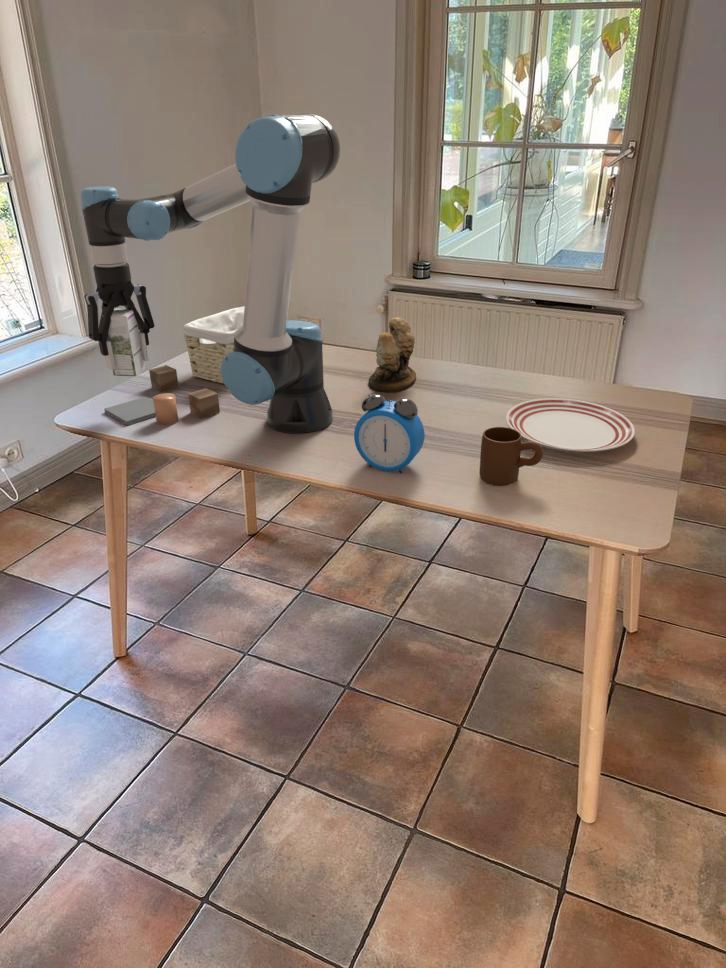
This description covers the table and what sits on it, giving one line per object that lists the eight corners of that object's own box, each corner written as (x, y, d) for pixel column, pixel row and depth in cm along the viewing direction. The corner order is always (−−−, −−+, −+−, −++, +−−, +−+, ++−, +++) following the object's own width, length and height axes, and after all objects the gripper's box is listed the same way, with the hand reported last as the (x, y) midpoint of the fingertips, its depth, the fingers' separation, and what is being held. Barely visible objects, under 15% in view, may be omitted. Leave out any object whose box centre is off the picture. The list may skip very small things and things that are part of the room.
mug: (545, 479, 142) (550, 435, 137) (533, 496, 136) (538, 450, 132) (487, 466, 147) (490, 423, 143) (473, 481, 141) (475, 437, 137)
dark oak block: (178, 387, 189) (176, 369, 187) (161, 392, 186) (159, 374, 184) (168, 383, 192) (166, 365, 190) (151, 388, 189) (149, 369, 187)
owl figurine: (381, 367, 201) (381, 306, 192) (422, 372, 197) (425, 309, 189) (361, 390, 185) (360, 324, 177) (405, 395, 182) (407, 328, 174)
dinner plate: (645, 424, 165) (647, 411, 163) (615, 473, 144) (618, 458, 143) (528, 402, 177) (530, 389, 176) (485, 444, 157) (486, 430, 155)
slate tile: (169, 412, 175) (168, 408, 174) (127, 425, 168) (126, 421, 167) (146, 400, 182) (145, 396, 181) (105, 412, 175) (104, 408, 174)
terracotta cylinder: (182, 421, 170) (179, 397, 167) (163, 427, 167) (159, 403, 164) (171, 415, 173) (168, 391, 170) (152, 421, 170) (148, 397, 167)
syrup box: (145, 368, 172) (136, 307, 165) (136, 377, 167) (126, 314, 160) (122, 368, 173) (111, 307, 166) (112, 376, 168) (101, 314, 161)
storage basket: (245, 353, 213) (240, 303, 206) (289, 363, 205) (285, 311, 198) (186, 378, 196) (178, 324, 188) (231, 389, 188) (225, 333, 181)
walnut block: (220, 413, 174) (217, 393, 172) (202, 418, 171) (199, 399, 169) (208, 407, 177) (205, 388, 175) (190, 413, 174) (188, 393, 172)
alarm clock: (353, 466, 148) (352, 398, 141) (365, 454, 153) (364, 387, 146) (414, 478, 143) (416, 407, 136) (424, 464, 148) (426, 396, 141)
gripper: (144, 254, 167) (159, 350, 178) (57, 268, 154) (78, 370, 165) (161, 258, 162) (175, 357, 173) (72, 273, 149) (93, 378, 160)
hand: (128, 363), depth 169 cm, fingers closed on syrup box, 8 cm apart
